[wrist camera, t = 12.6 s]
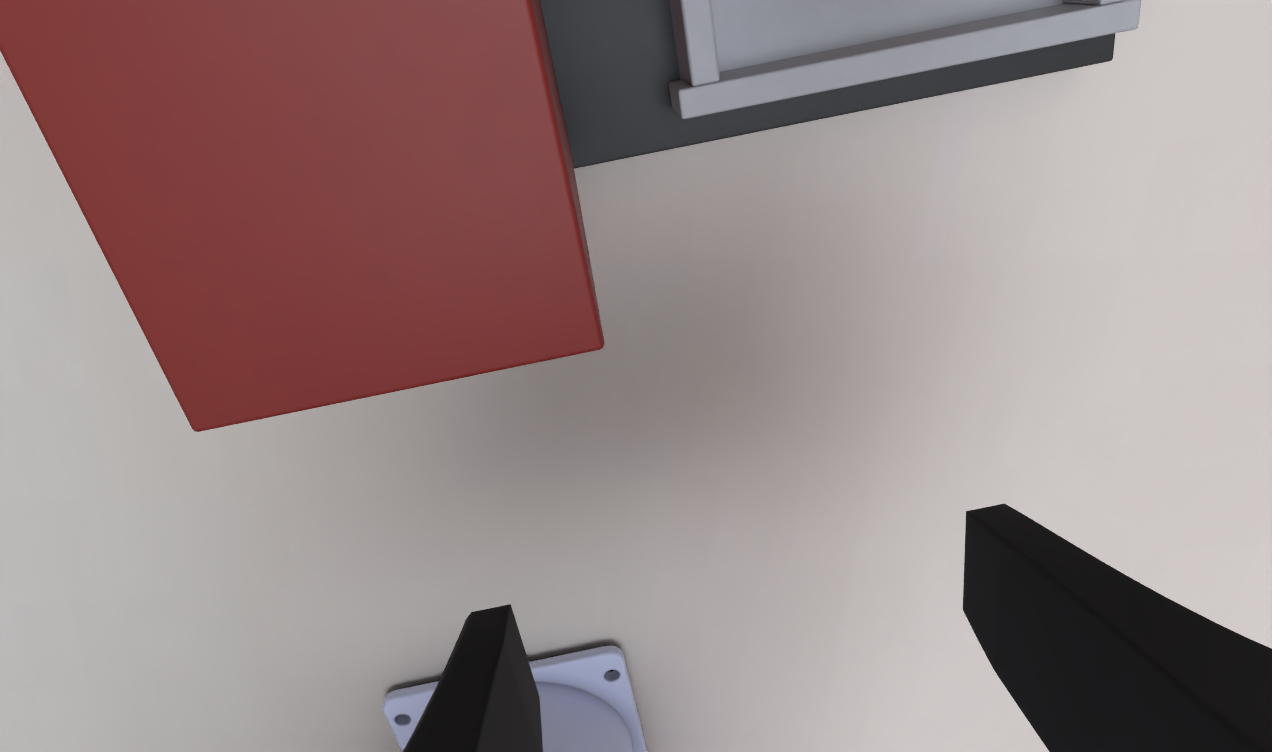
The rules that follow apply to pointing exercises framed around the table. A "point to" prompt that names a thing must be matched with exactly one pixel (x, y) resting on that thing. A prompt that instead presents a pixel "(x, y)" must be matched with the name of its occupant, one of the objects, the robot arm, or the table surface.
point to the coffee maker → (436, 156)
